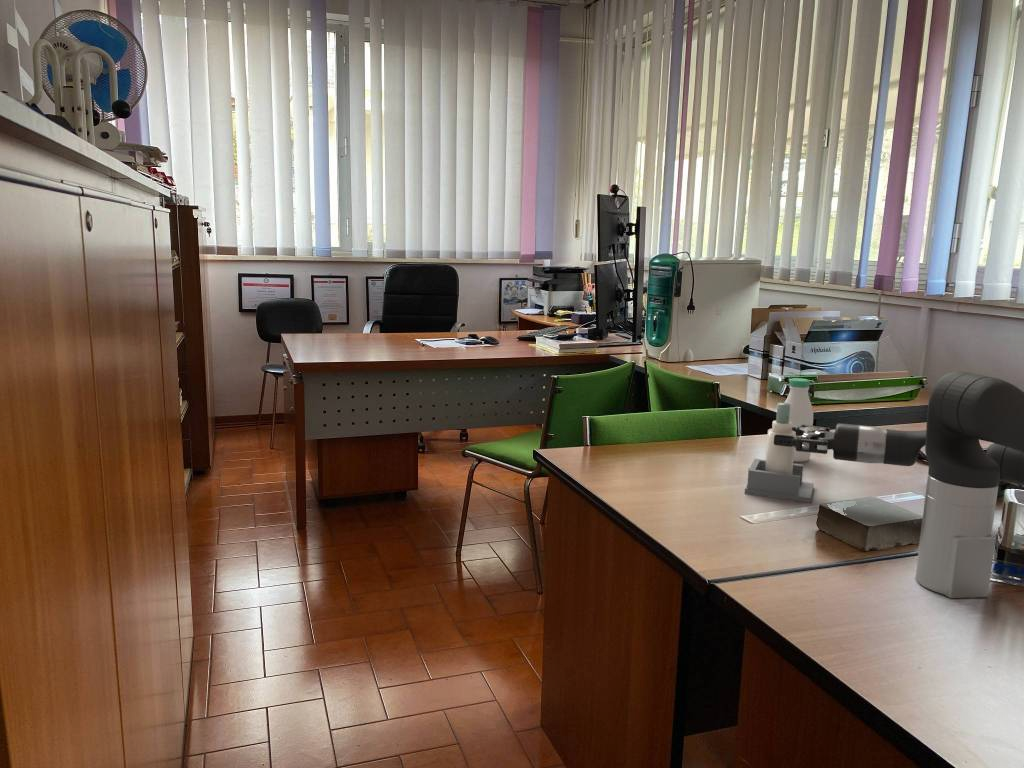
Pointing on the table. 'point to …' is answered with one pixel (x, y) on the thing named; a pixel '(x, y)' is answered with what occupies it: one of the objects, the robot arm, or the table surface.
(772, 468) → the plastic bottle
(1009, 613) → the table surface
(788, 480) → the box
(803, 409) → the milk bottle
